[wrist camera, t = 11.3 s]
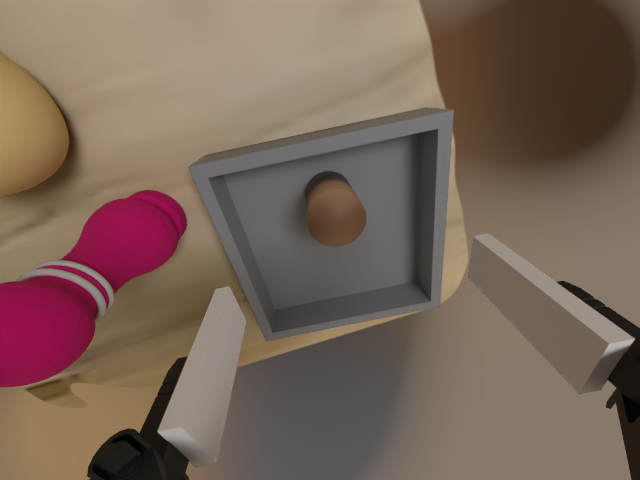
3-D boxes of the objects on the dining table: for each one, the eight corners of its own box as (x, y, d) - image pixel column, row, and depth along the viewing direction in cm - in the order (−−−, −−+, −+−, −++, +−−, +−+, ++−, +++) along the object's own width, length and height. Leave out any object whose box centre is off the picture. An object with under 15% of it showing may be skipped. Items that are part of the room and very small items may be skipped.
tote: (206, 154, 26) (187, 167, 21) (426, 107, 25) (453, 109, 21) (269, 312, 37) (266, 341, 32) (422, 281, 36) (439, 306, 32)
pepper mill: (138, 247, 30) (-78, 456, 13) (108, 188, 26) (-251, 367, 9) (200, 241, 30) (72, 437, 13) (178, 181, 27) (-40, 342, 9)
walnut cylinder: (300, 176, 26) (302, 200, 20) (347, 166, 26) (363, 187, 20) (310, 219, 29) (314, 251, 23) (353, 210, 29) (368, 240, 23)
